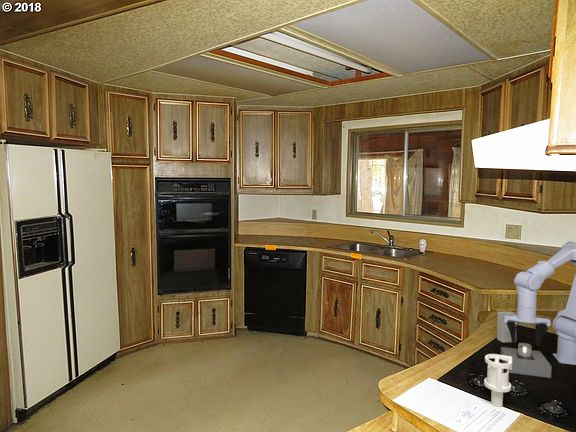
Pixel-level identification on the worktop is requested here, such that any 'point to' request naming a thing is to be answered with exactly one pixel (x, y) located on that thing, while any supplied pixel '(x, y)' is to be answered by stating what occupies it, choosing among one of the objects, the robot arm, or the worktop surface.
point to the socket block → (528, 363)
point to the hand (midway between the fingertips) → (525, 343)
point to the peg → (524, 351)
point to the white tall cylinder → (497, 377)
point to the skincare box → (504, 327)
